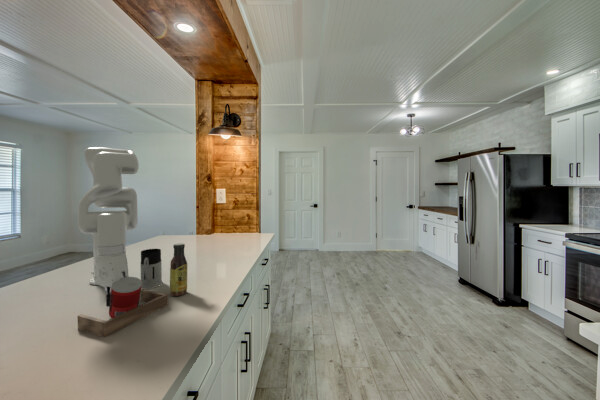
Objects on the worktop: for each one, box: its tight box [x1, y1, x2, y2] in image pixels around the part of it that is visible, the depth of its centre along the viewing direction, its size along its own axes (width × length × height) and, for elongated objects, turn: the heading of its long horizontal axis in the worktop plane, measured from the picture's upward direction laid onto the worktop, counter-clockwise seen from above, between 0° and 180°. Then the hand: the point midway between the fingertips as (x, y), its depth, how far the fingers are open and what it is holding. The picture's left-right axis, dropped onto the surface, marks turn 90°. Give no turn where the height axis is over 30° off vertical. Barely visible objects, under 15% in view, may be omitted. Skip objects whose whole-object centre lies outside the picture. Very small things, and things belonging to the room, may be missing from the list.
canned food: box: [108, 276, 142, 319], centre depth 81 cm, size 8×8×11 cm
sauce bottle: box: [169, 242, 188, 297], centre depth 100 cm, size 6×6×20 cm
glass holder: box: [140, 248, 164, 289], centre depth 107 cm, size 9×14×15 cm, turn 18°
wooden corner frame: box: [77, 289, 169, 338], centre depth 82 cm, size 12×21×4 cm, turn 160°
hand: (113, 304), depth 84 cm, fingers closed
